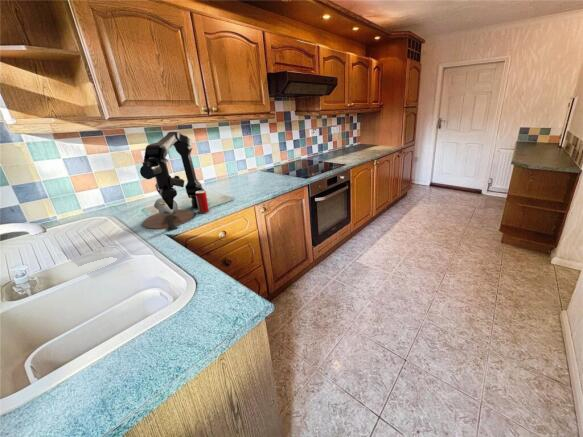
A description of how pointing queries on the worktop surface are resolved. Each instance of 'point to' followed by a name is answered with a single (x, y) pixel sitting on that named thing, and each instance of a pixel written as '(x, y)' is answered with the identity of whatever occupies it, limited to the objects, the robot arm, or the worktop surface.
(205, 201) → the soda can
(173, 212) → the decorative toy
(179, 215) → the turntable
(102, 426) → the worktop surface
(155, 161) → the robot arm
